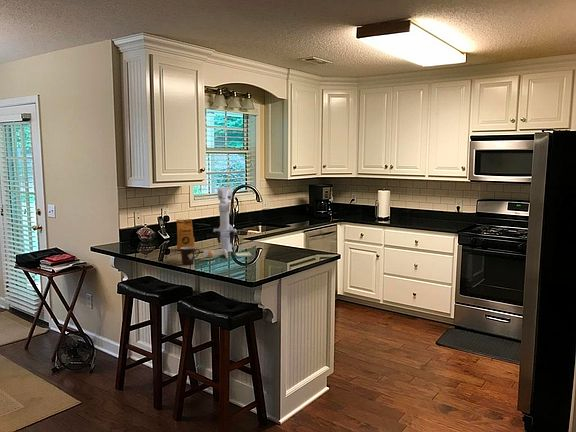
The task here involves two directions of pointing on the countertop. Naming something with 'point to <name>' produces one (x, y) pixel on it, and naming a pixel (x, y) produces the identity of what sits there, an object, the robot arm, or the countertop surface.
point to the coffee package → (185, 233)
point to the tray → (243, 254)
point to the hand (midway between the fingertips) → (225, 243)
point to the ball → (211, 254)
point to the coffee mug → (188, 255)
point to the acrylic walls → (217, 252)
